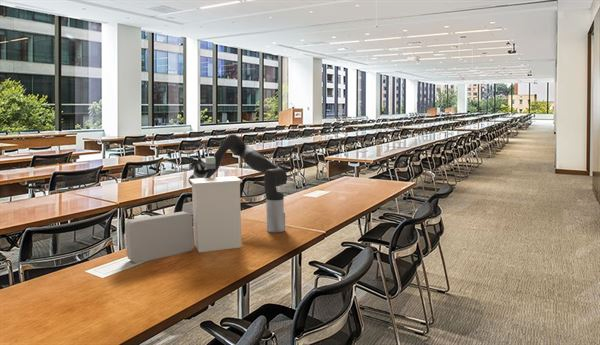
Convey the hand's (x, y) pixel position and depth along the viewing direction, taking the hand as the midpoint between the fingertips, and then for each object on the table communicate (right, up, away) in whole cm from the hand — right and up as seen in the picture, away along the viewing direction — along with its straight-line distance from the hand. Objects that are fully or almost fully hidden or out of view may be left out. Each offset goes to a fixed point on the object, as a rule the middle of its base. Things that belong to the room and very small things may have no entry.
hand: (204, 159), depth 236 cm
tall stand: (+11, -42, -21) cm, 48 cm away
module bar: (+3, -4, -6) cm, 8 cm away
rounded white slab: (-12, -44, -34) cm, 57 cm away
